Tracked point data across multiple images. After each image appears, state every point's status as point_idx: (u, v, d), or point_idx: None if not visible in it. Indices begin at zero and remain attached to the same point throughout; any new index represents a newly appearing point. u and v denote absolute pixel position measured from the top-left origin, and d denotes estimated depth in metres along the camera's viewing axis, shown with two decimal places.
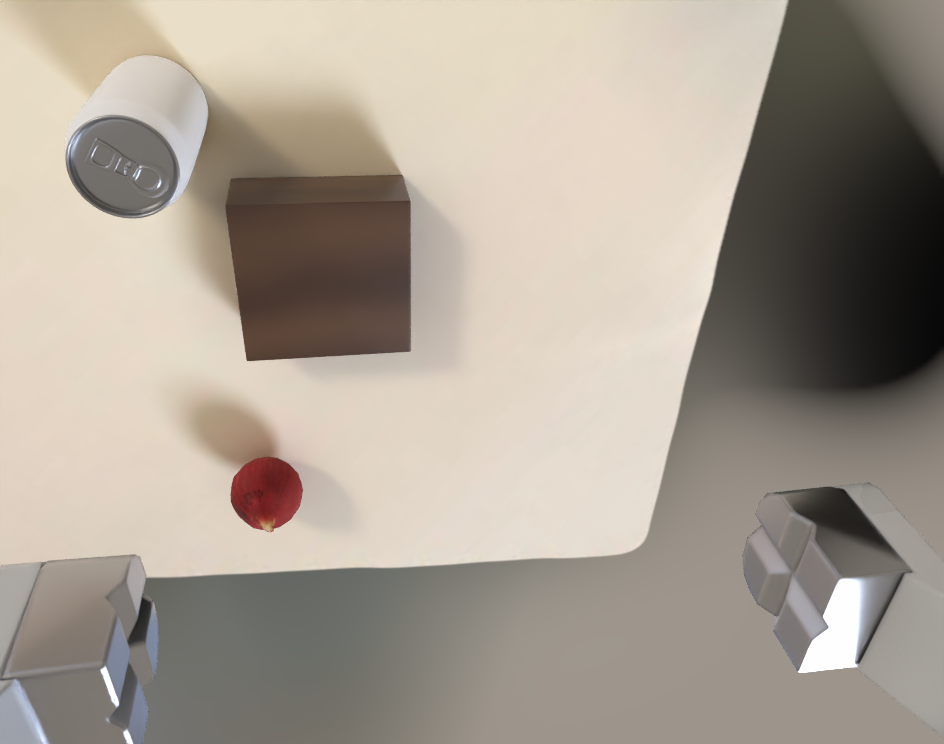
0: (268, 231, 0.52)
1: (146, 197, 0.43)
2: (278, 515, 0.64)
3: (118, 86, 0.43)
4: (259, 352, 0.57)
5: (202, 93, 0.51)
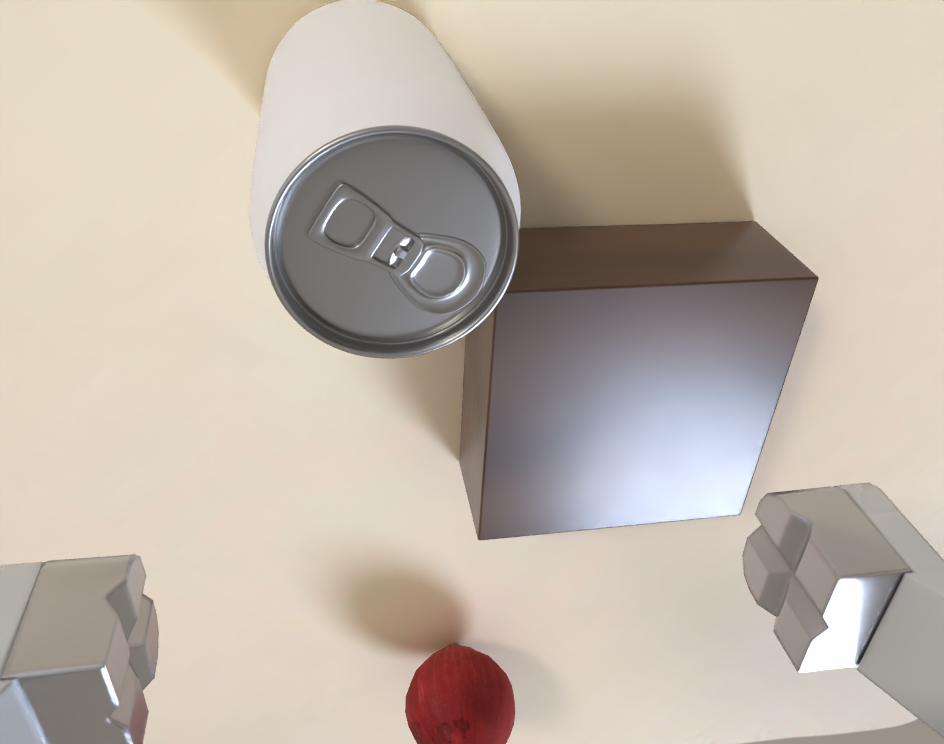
0: (562, 334, 0.28)
1: (427, 311, 0.19)
2: None
3: (364, 56, 0.19)
4: (502, 527, 0.33)
5: None
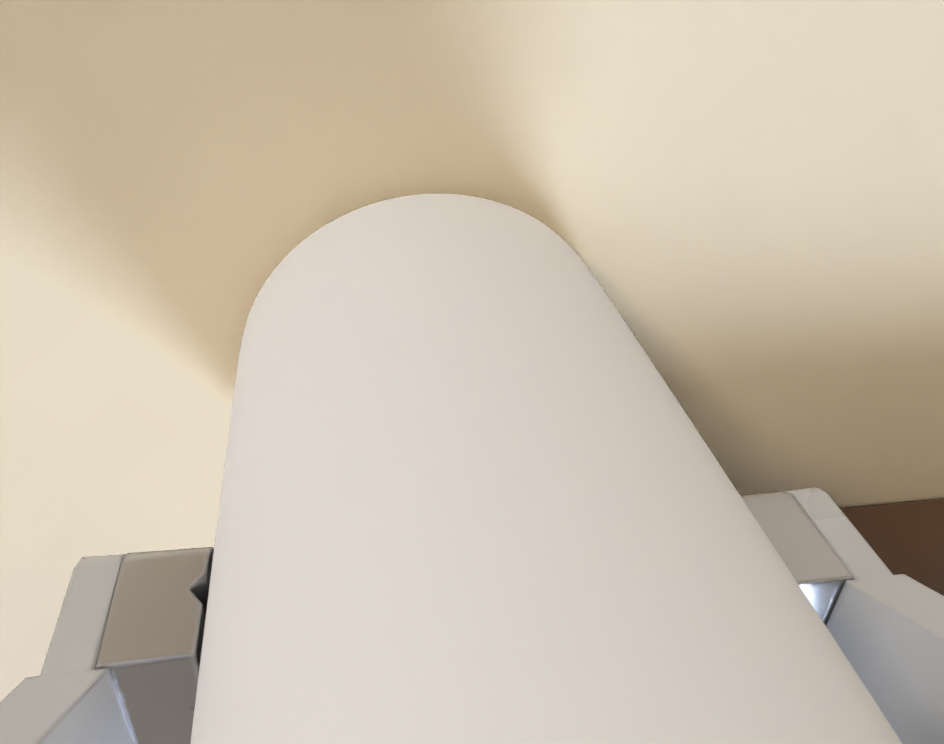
0: None
1: None
2: None
3: (529, 579, 0.06)
4: None
5: None
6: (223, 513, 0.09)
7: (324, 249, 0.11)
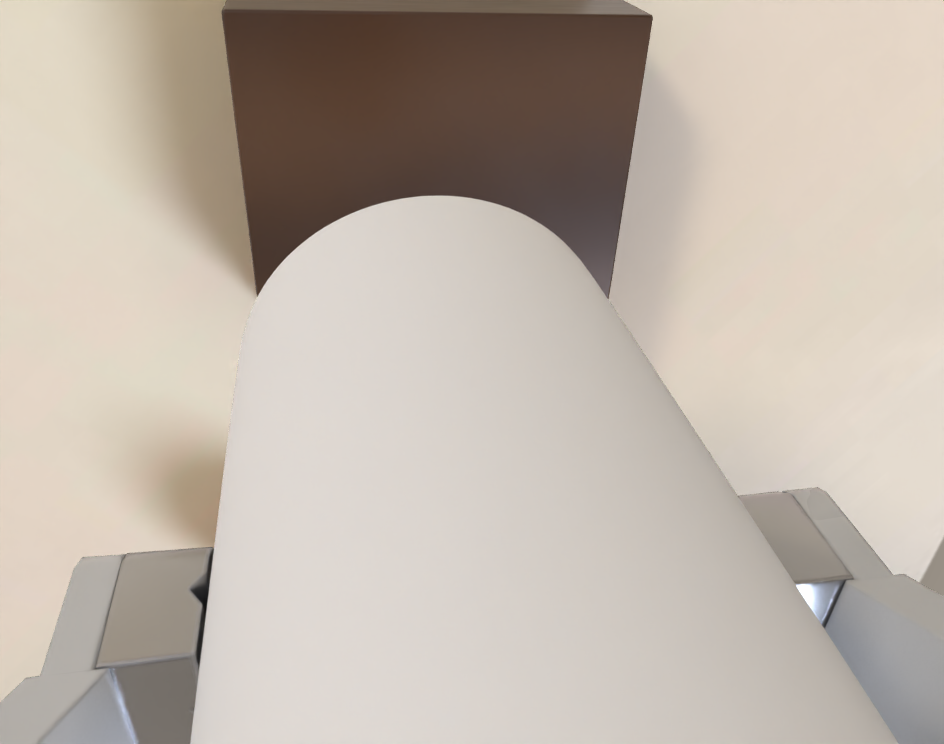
0: (324, 82, 0.22)
1: None
2: None
3: (528, 583, 0.06)
4: None
5: None
6: (223, 515, 0.09)
7: (324, 251, 0.11)
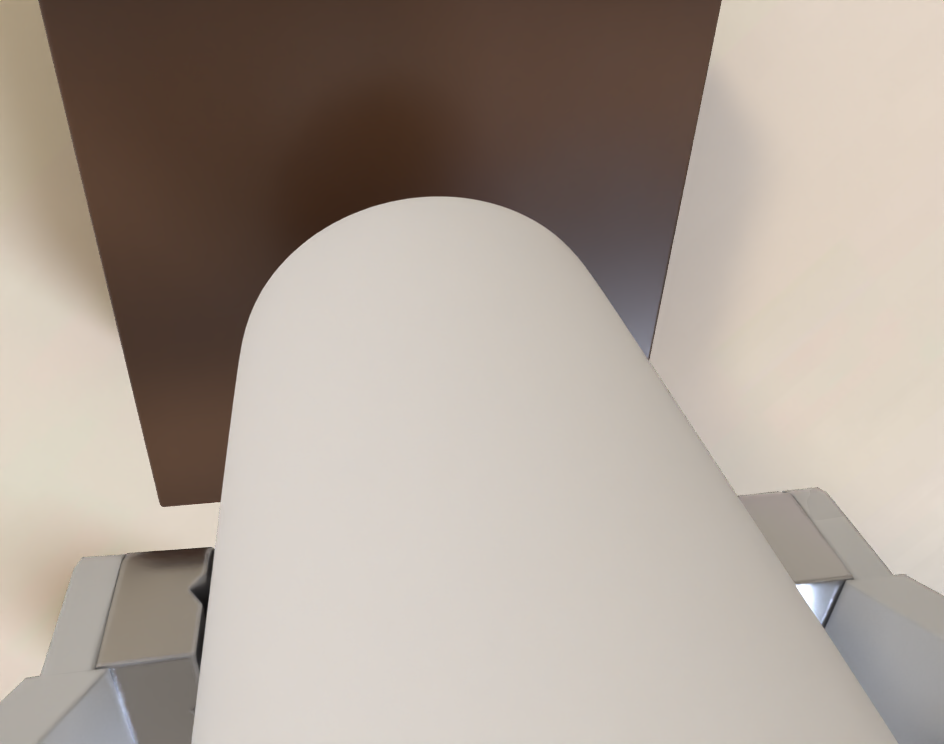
0: (209, 75, 0.14)
1: None
2: None
3: (530, 585, 0.06)
4: (198, 482, 0.19)
5: None
6: (223, 516, 0.09)
7: (324, 252, 0.11)
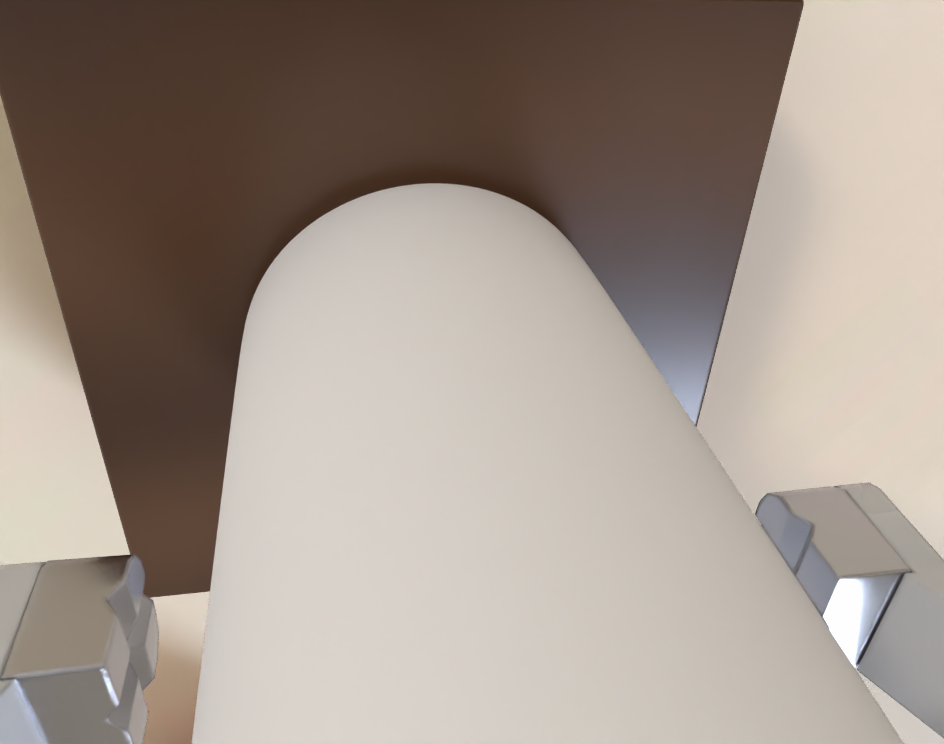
0: (193, 123, 0.12)
1: None
2: None
3: (517, 534, 0.06)
4: (185, 572, 0.17)
5: None
6: (227, 486, 0.09)
7: (325, 236, 0.12)
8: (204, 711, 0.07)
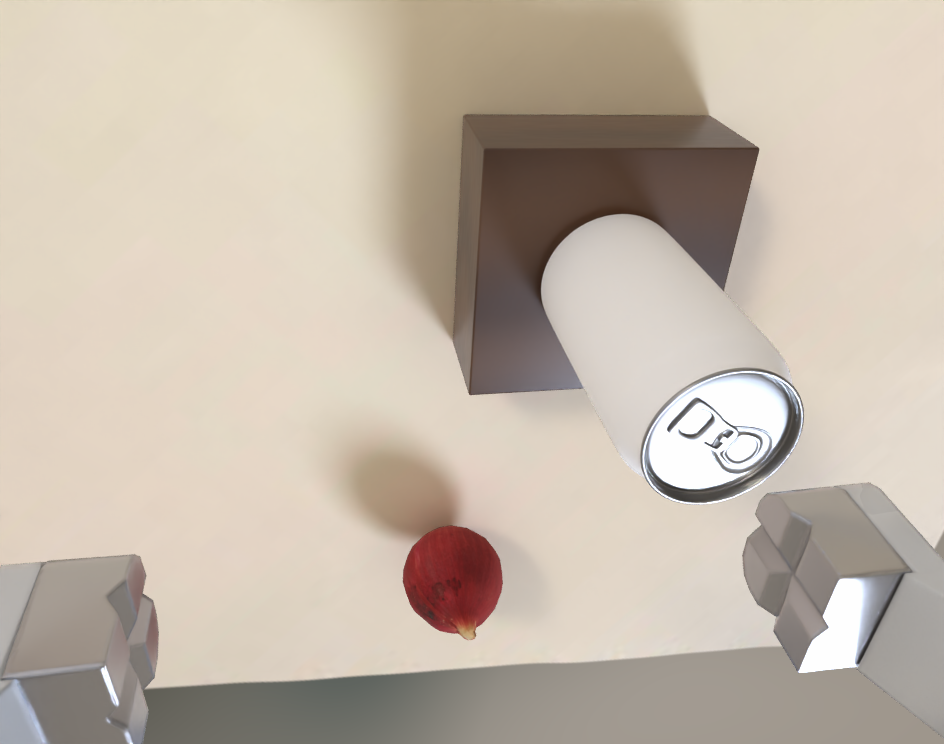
0: (541, 192, 0.33)
1: (729, 473, 0.27)
2: (480, 614, 0.44)
3: (685, 297, 0.27)
4: (490, 382, 0.38)
5: None
6: (579, 307, 0.30)
7: (588, 233, 0.33)
8: (604, 346, 0.28)
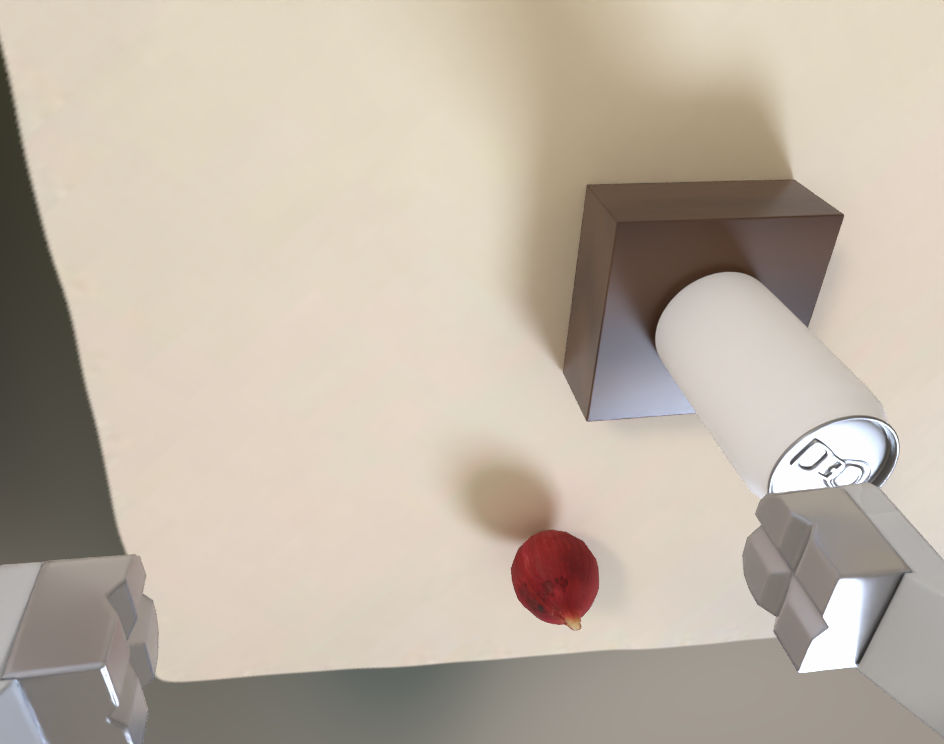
0: (661, 255, 0.39)
1: None
2: (584, 608, 0.51)
3: (798, 353, 0.33)
4: (605, 410, 0.44)
5: None
6: (701, 356, 0.37)
7: (701, 289, 0.39)
8: (730, 392, 0.34)
